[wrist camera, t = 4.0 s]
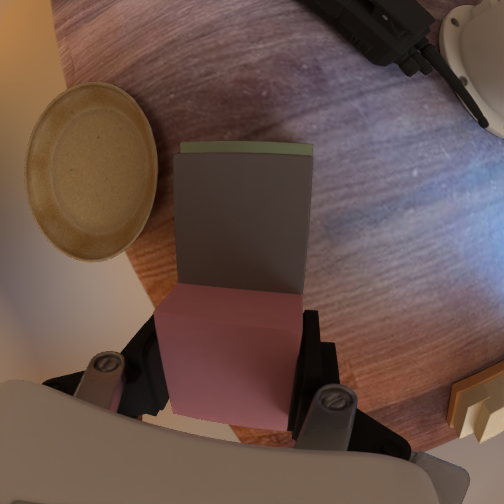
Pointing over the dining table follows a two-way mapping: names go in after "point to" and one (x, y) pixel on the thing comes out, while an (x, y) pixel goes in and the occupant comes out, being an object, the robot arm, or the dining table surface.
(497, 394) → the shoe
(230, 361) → the grey and pink l-bracket
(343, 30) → the walkie-talkie
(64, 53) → the dining table surface
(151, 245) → the dining table surface
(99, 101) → the plant saucer
